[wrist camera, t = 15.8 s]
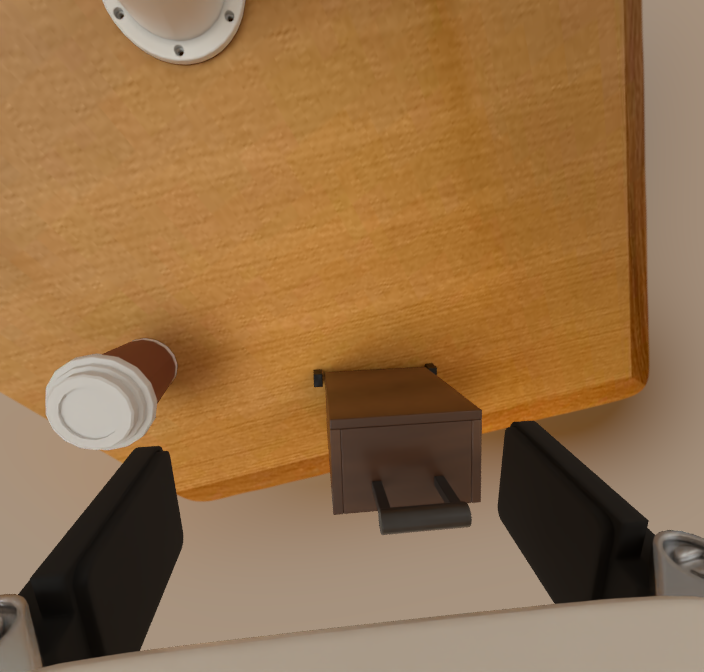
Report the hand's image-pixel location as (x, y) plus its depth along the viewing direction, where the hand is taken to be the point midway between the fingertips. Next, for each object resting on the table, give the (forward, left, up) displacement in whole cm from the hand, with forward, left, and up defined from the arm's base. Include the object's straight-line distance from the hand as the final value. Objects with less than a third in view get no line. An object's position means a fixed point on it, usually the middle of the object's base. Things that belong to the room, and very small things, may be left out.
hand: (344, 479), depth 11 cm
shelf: (+8, +6, -23) cm, 25 cm away
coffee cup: (+8, -20, -34) cm, 41 cm away
